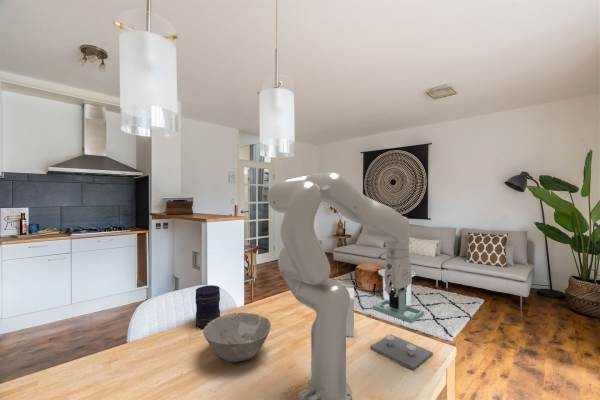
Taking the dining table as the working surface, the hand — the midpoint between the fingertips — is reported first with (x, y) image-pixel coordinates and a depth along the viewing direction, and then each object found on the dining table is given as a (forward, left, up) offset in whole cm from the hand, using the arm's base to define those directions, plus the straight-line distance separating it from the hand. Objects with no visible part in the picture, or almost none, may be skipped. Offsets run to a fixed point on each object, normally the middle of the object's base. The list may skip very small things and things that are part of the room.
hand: (397, 305), depth 95 cm
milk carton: (-2, +22, -17) cm, 28 cm away
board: (+2, 0, -17) cm, 17 cm away
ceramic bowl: (-42, +35, -17) cm, 57 cm away
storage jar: (-41, +64, -17) cm, 78 cm away
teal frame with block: (0, 0, -2) cm, 2 cm away
